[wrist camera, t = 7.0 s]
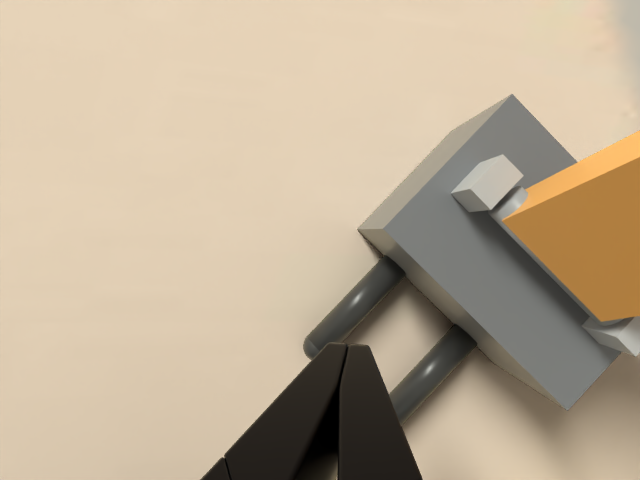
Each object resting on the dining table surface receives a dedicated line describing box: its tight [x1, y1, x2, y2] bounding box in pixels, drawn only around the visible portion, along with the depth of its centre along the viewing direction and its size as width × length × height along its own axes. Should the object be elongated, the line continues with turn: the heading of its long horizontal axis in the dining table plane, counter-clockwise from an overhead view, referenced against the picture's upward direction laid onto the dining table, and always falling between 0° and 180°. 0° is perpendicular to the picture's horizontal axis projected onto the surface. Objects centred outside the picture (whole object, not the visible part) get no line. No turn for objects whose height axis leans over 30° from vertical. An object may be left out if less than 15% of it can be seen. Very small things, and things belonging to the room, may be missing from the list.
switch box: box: [303, 94, 640, 426], centre depth 19 cm, size 13×10×8 cm
